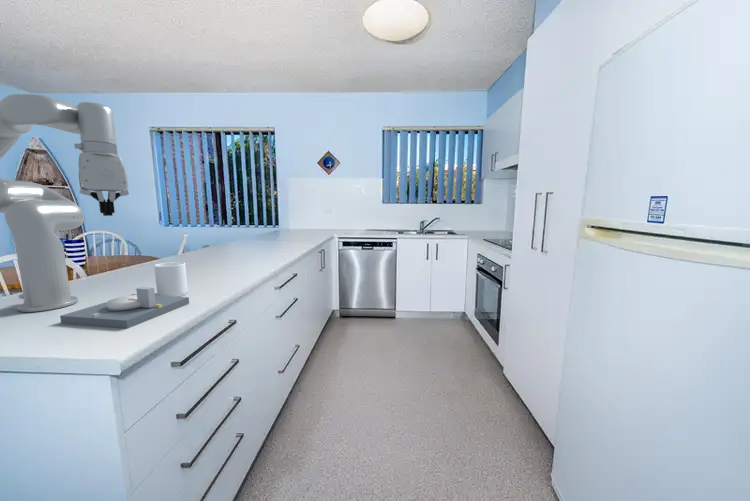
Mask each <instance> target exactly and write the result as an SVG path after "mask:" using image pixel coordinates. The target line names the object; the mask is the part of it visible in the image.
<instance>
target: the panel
mask: <svg viewBox="0 0 750 501" xmlns="http://www.w3.org/2000/svg"><path fill="white" fill-rule="evenodd" d="M130 295H137V293H136V294H135V293H132V294H129V295H128V296H130ZM106 302H107V301H105V302H103V303H99V304H96V305H92V306H89V307H84V308H82V309H78V310H75V311H72V312H69V313H66V314H64V313H63V314H62V315H60V316H59V317H60V324H65V325H66V324H68V325H81V326H92V327H94V326H95V327H104V328H105V327H106V328H115V329H116V328H117V329H119V328H120V329H129V328H132V327H134V326H137V325H139V324H142V323H145V322H147V321H149V320H152V319H154V318H157V317H159V316H162V315H164V314H166V313H169V312H172V311H174V310H177V309H179V308H181V307H182V308H183V307H184V306H186V305H189V304H190V298H189V297H188V296H180V297H174V296H158V295H156V294H155V303H156V305H155V306H154V307H151V308H146V307H139V308H134V309H128V310H117V311H115V310H108V309H107V305H106Z"/></svg>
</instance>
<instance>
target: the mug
mask: <svg viewBox="0 0 750 501" xmlns="http://www.w3.org/2000/svg"><path fill="white" fill-rule="evenodd" d="M153 266H154V274H155V275H154V276H155V285H156V294H157V295H156V296H174V297H184V296H185V295H187V294H188V279H187V268H186V262H184V261H183V262H182V261H172V262H171V261H169V262H162V263H156V264H154V265H153Z"/></svg>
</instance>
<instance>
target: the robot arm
mask: <svg viewBox="0 0 750 501" xmlns="http://www.w3.org/2000/svg"><path fill="white" fill-rule="evenodd" d="M114 118H115V117H114V113H113V110H112V109H111V108H110V107H109V106H107V105H104V104H101V103H97V102H88V101H84V102H79V103H78V104H77V105H74V104H70V103H68V102H65V101H63V100H59V99H57V98H53V97H51V96H48V95H47V96H46V95H42V94H32V93H31V94H26V93H25V94H23V93H22V94H20V93H18V94H17V93H16V94H15V93H14V94H13V93H12V94H8V95H6V96H5V97H3V98H2V99H1V100H0V160H2V159H3V158H4V156H5V155H6V154H7V153H8V152H9V151H10V150H11V149H12V148H13V146H14V145H16V143H17V142H18V141H19V140H20V138H21V137H22V136H23V134H27V133H29V132H30V131H31V130H32V129H33V126H41V127H42V126H44V127H48V128H53V129H55V130H56V129H57V130H60V131H62V132H63V131H64V132H68V133H71V134H77V135H79V136H80V137H79V138H80V142H79V143H74V145H73V146H74V149H78V150H80V151H81V153H79V155H78V182H79V186H80V189H79V194H81V195H85V196H88V197H89V196H90V197H92V198H93V199H95V200H96V201H97V202H98V205H99V212H100V214H102V215H103V217H104V216H105V217H108V216H110V217H112V216H113V214H114V213H115V211H116V210H115V204H114V202H115V201H116V200H117V199H119V197H124V196H128V195H129V194H130V193H129V190H128V189H129V183H128V182H129V181H128V177H127V172H126V166H125V163H124V160H123V158H122V156H118V155H119V154H118V148H117V147H118V145H117V137H116V128H115V120H114ZM103 192H107V199H105V198H104V194H103ZM0 213H4V219H5V222H6V224H7V226H8V229H9V231H10V233H11V235H12V239H13V243H14V247H15V252H16V257H17V262H18V270H19V274H20V280H21V282H20V283H21V289H22V293H20V294H19V295H18V298H19V299H23V303H21V304H19V305H17V307H16V308H17V311H18V312H21V313H34V312H36V313H37V312H42V311H43V312H44V311H50V310H51V311H52V310H56V309H60V308H64V307H65V308H66V307H68V306H72V305H74V304H76V303H78V302H79V297H77V296H74V295H71V290H70V283H69V282H70V281H69V275H68V274H69V273H68V268H67V261H66V255H65V248H64V245H63V242H62V241H61V239H60V238H59V237H58V235H57V234H56V233H55V232H62V231H63V232H64V231H71V230H74V229H78V228H79V227H81V226H82V225H83V223H84V222H85V214H84V212H83V210H82V208H81V207H80V206H79V205H78V204H77V203H75V202H74V201H73V200H70V199H69V198H68V197H65V196H63V195H61V194H60V193H58V192H56V191H55V190H53V189H52V188H49V187H48V186H45V185H43V184H40V183H36V182H33V181H25V180H24V181H23V180H13V179H5V178H2V177H0Z"/></svg>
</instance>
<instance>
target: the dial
mask: <svg viewBox="0 0 750 501" xmlns="http://www.w3.org/2000/svg"><path fill="white" fill-rule="evenodd" d="M135 291H136V294H137V295H132V294H129V295H130V296H129V295H125V296H121V297H119V296H118V297H116V298H112V299H110V300H108V301H105V302H106V305H107V309H108V310H115V311H117V310H128V309H134V308H139V307H146V308H151V307H154V306H155V305H156V303H155V295H156V294H155V288H154V287H150V286H140V287H136V288H135Z"/></svg>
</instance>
